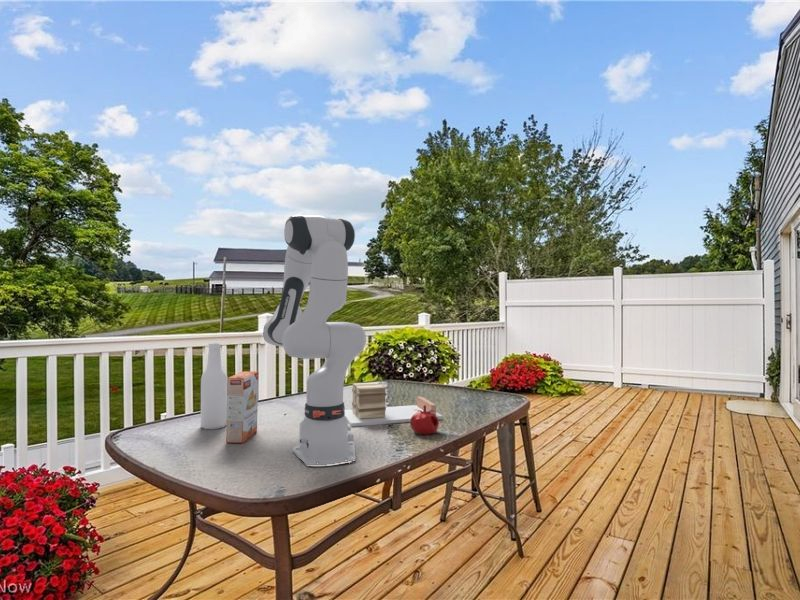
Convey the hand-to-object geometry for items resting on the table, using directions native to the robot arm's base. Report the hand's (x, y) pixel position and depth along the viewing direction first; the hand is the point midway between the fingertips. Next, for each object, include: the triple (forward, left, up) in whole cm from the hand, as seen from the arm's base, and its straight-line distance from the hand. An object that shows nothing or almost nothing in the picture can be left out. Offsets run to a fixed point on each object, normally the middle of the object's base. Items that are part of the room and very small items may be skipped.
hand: (344, 344), depth 173 cm
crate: (+1, -10, -27) cm, 29 cm away
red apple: (-23, -24, -29) cm, 44 cm away
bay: (+1, -19, -29) cm, 34 cm away
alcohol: (+5, +46, -29) cm, 55 cm away
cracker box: (-11, +36, -29) cm, 48 cm away
